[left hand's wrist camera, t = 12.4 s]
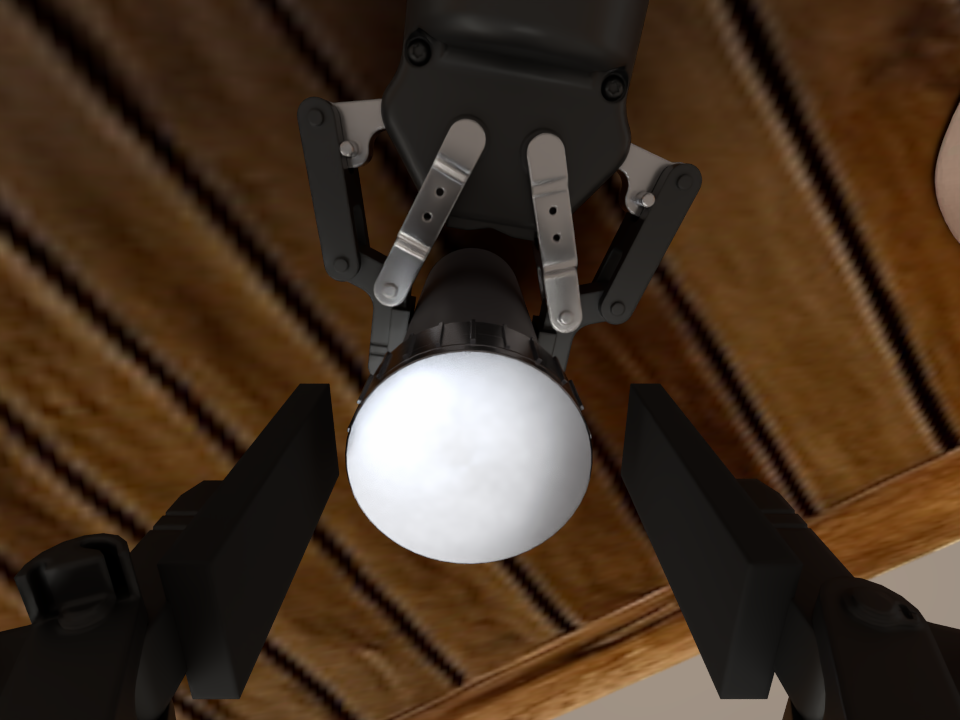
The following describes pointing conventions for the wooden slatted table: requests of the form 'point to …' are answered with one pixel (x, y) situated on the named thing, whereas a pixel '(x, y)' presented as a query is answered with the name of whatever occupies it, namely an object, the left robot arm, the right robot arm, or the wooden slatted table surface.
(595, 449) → the wooden slatted table surface
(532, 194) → the right robot arm
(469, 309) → the dark grey cylinder
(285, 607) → the wooden slatted table surface
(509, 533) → the lid
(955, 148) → the anatomical model
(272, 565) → the left robot arm
